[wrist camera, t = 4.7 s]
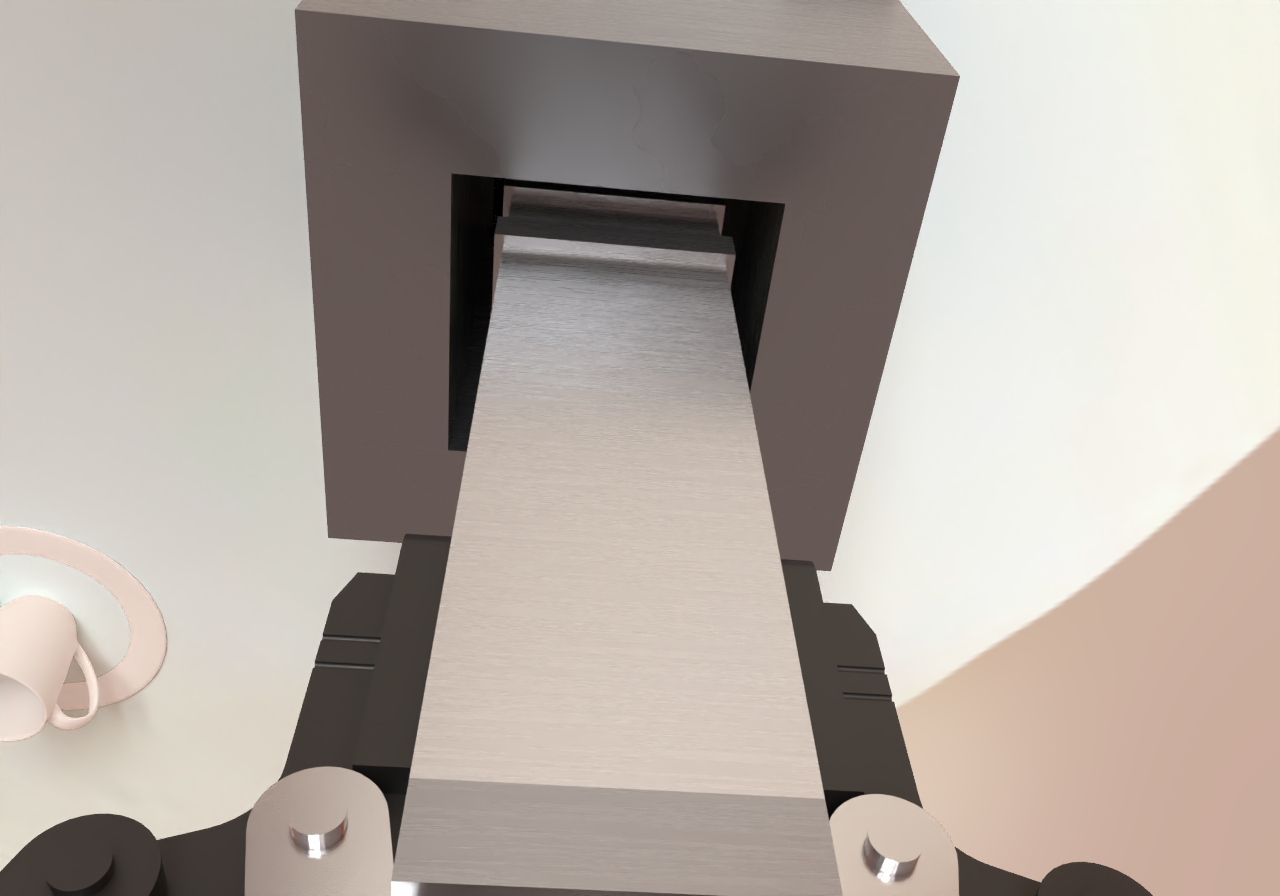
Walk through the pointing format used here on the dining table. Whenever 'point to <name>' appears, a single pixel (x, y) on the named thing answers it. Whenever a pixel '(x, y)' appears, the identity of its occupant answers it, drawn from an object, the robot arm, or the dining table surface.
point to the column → (613, 585)
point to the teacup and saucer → (68, 642)
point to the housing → (614, 158)
